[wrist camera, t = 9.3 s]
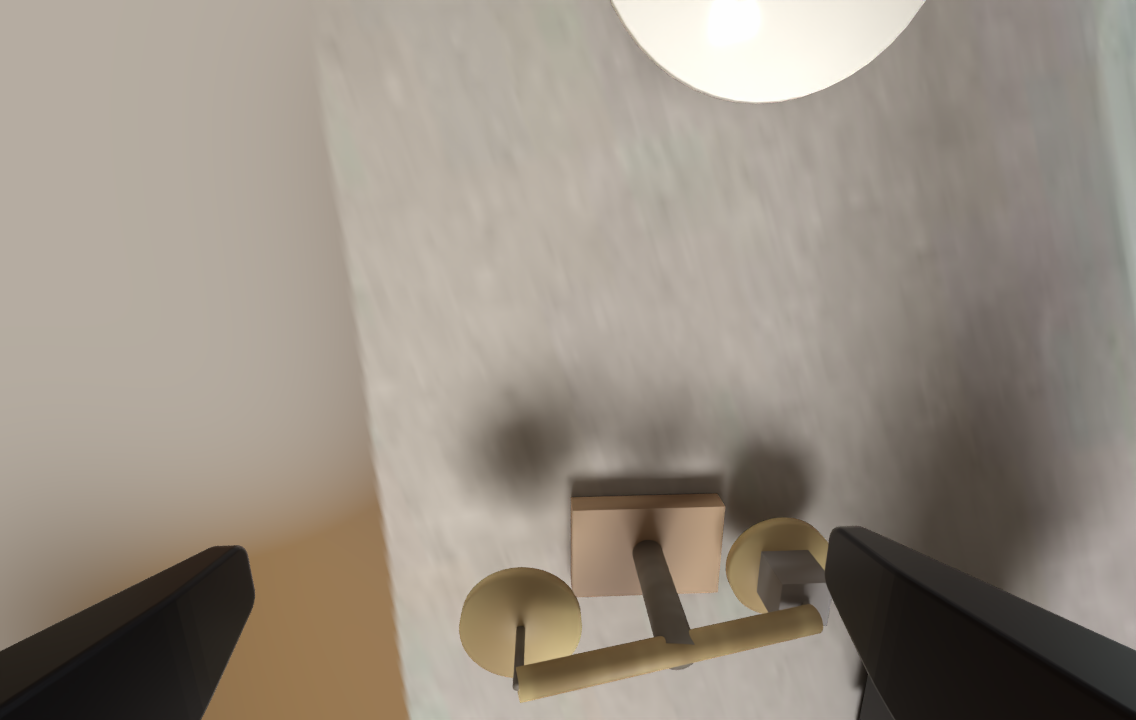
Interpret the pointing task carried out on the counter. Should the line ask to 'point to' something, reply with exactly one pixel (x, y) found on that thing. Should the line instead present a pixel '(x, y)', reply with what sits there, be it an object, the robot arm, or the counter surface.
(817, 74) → the dish
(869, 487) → the counter surface
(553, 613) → the balance
